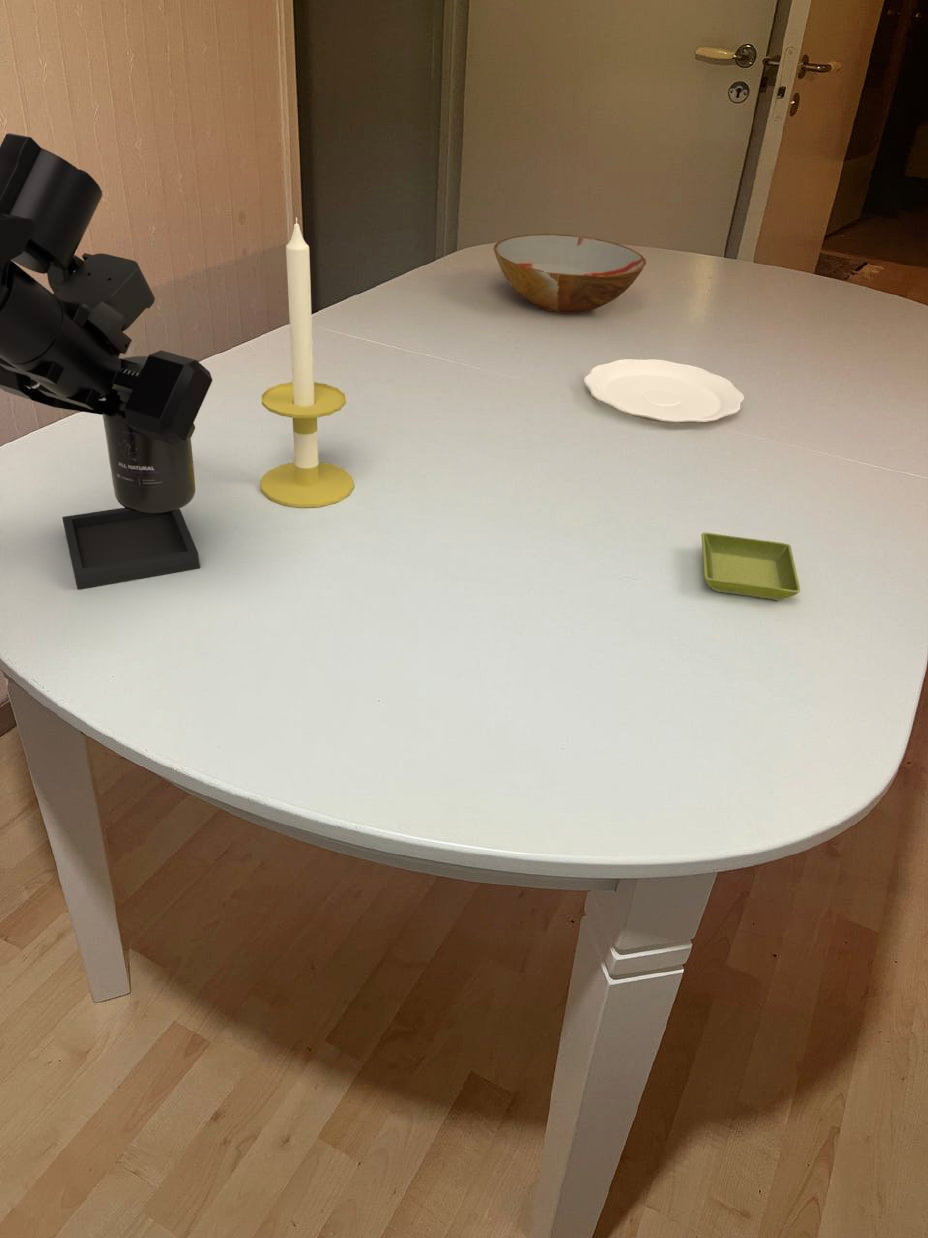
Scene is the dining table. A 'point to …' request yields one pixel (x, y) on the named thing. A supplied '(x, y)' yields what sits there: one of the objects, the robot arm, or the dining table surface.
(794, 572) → the olive green square dish
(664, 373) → the plate
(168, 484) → the supplement bottle
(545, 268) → the bowl
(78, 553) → the dock pad
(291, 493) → the candle
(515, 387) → the dining table surface
